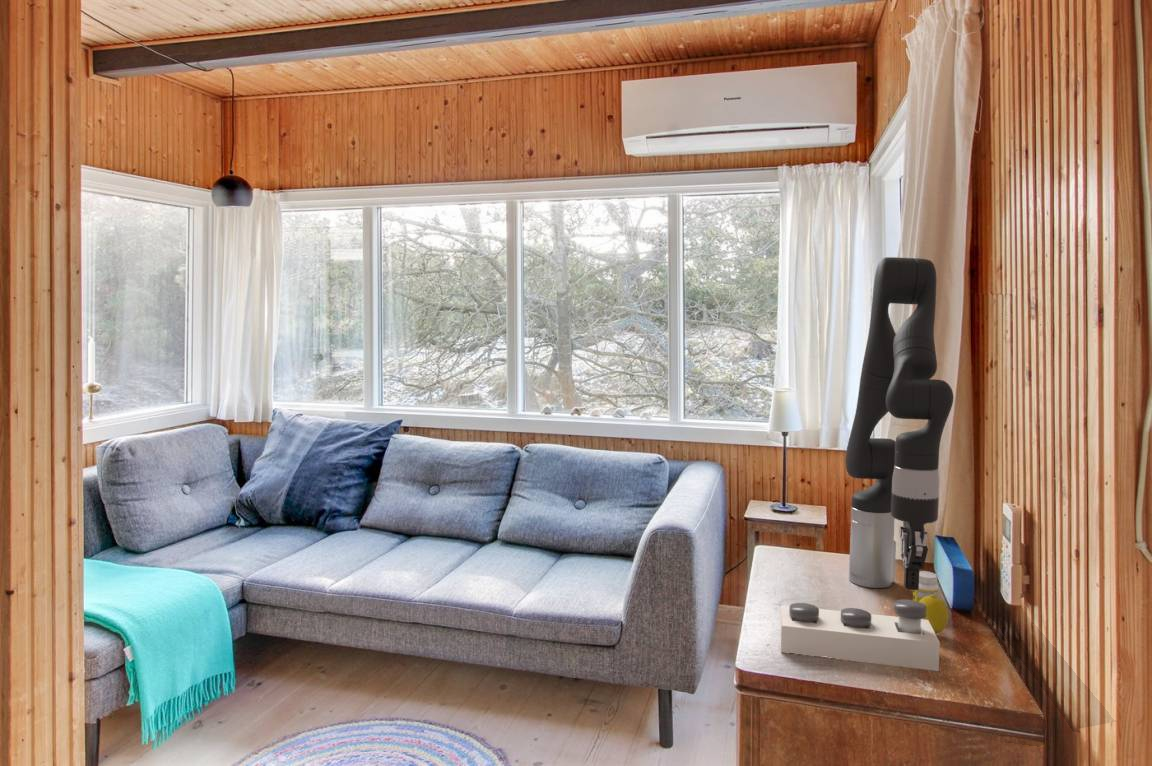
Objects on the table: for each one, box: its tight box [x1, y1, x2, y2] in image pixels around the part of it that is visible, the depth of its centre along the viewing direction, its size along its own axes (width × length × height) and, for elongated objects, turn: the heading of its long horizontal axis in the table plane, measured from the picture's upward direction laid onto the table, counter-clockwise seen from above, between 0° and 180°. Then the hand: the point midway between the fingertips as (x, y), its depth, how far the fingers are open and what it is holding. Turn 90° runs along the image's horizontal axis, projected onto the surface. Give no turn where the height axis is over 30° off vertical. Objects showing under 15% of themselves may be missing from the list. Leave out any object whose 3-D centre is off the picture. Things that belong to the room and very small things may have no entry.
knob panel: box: [780, 604, 941, 672], centre depth 133 cm, size 26×10×5 cm, turn 75°
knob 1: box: [789, 602, 820, 623], centre depth 135 cm, size 5×5×6 cm
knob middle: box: [840, 607, 872, 629], centre depth 133 cm, size 5×5×6 cm
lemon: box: [919, 595, 949, 635], centre depth 139 cm, size 6×6×8 cm
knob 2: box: [893, 598, 926, 634], centre depth 130 cm, size 5×5×6 cm
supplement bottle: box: [912, 570, 940, 602], centre depth 149 cm, size 5×5×8 cm
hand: (911, 588), depth 130 cm, fingers closed
